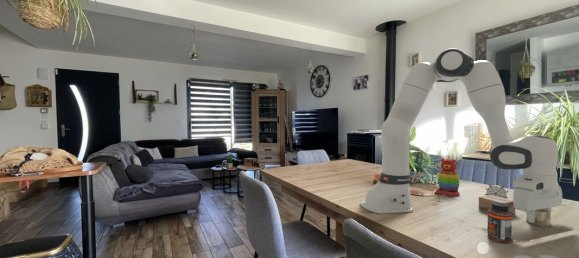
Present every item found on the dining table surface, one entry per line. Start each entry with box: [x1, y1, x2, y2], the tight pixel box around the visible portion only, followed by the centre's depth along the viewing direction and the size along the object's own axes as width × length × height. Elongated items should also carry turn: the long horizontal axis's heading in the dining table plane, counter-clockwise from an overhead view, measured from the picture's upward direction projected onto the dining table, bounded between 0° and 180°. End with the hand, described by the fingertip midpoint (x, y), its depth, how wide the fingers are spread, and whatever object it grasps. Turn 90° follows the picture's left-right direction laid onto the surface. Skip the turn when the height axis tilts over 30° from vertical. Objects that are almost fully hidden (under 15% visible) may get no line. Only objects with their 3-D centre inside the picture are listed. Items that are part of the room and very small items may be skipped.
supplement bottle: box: [486, 202, 513, 244], centre depth 82 cm, size 6×6×11 cm
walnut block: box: [478, 195, 516, 215], centre depth 103 cm, size 7×9×5 cm
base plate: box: [470, 206, 524, 218], centre depth 103 cm, size 12×12×1 cm
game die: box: [484, 183, 509, 199], centre depth 119 cm, size 9×8×10 cm
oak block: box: [526, 209, 552, 227], centre depth 91 cm, size 4×4×6 cm
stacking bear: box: [434, 158, 461, 198], centre depth 132 cm, size 11×10×18 cm
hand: (538, 220), depth 91 cm, fingers open, 5 cm apart
